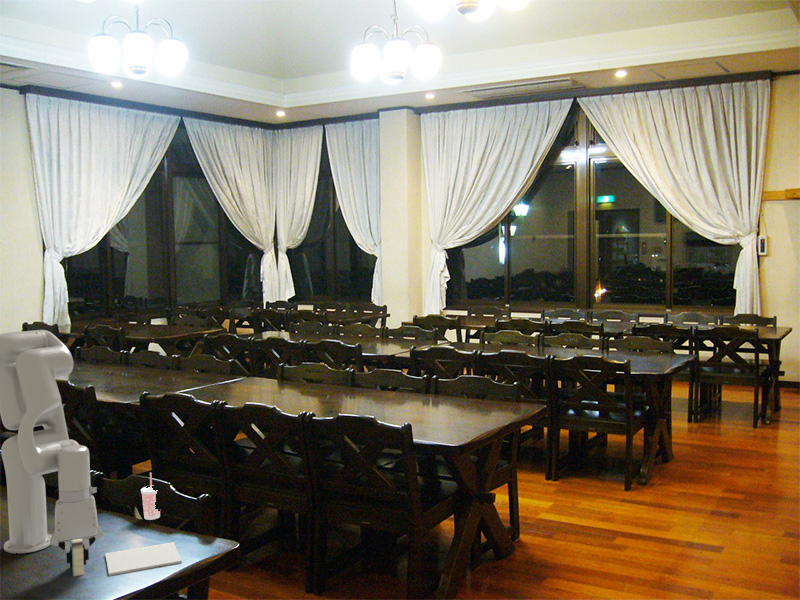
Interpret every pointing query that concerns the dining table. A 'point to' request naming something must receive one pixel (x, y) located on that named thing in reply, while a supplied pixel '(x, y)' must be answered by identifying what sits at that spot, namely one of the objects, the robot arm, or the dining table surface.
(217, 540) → the dining table surface
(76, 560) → the tan notched wooden block
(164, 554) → the off-white board
